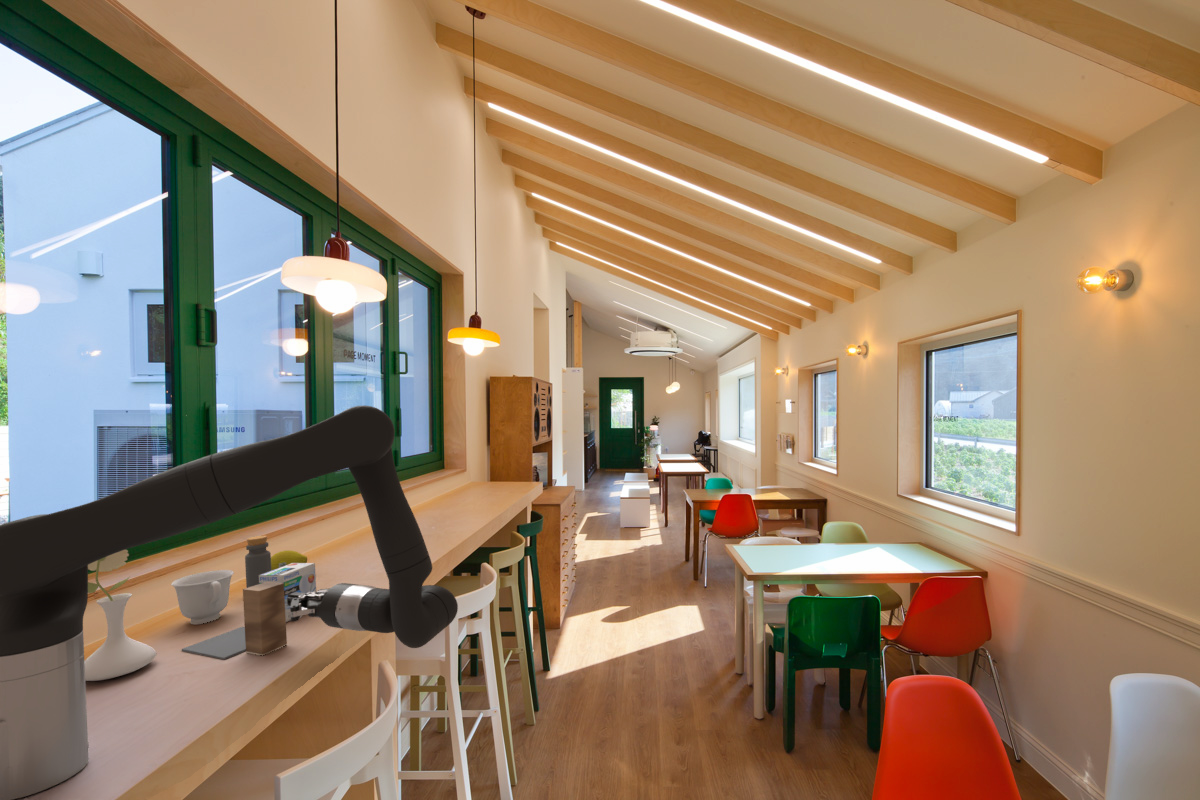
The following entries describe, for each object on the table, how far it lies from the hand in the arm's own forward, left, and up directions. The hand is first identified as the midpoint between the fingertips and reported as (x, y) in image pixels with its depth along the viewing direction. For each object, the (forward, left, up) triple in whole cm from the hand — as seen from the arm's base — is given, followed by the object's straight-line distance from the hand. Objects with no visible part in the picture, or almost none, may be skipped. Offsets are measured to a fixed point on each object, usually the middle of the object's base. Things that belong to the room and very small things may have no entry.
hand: (291, 598), depth 106 cm
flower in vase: (-19, +26, -11) cm, 34 cm away
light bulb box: (+13, +24, -11) cm, 30 cm away
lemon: (+32, +58, -11) cm, 67 cm away
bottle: (+20, +50, -11) cm, 55 cm away
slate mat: (-2, +19, -11) cm, 21 cm away
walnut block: (-1, +8, -11) cm, 13 cm away
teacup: (+3, +40, -11) cm, 42 cm away
